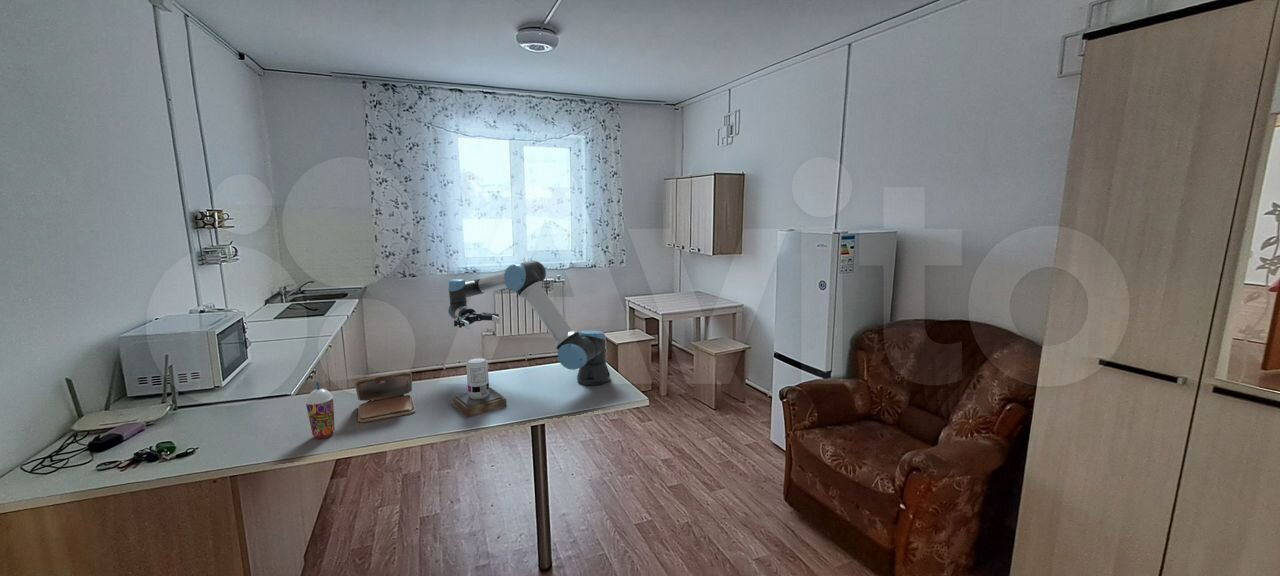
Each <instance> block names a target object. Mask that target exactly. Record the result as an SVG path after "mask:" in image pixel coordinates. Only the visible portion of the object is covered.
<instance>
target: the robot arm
mask: <svg viewBox="0 0 1280 576" xmlns="http://www.w3.org/2000/svg"><path fill="white" fill-rule="evenodd" d="M546 276H547V271H546V268H545V266H544V265H543V264H542V263H541V262H540V261H537V260H529V261H524V262H515V263H513V264H510V265H509V266H508V267H507V268H506V269H505V270H504V272H501V273H497V274H493V275H489V276H486V277H485V276H484V277H482V278H477V279H473V280H469V281H466V280H465V279H463V278H454V279H450V280H449V281H448V293H449V296H448V297H449V306H448V308H447V313H448V316H450V317H451V318H452V319H454V320H453V326H454V328H455V327H458V328H459V329H460V328H462V327H464V328H465V329H468V330H469V329H470V325H472V324H474V323H476V322H481V321H491V322H493V323H496V324H498V325H499V324H501V321H500V314H499V313H496V312H495V313H493V312H492V313H490V312H484V311H482V312H481V313H479V312H478V313H477V312H476V310H475V309H474V308H471V307H468V305H467V304H468V303H467V298H469V297H474V296H479V295H483V294H486V293H490V292H495V291H499V290H504V289H508V290H509V291H510V292H511V291H512V292H516V293H517V294H518V296H519V298H521V299H525V300H526V301H527V303H528V304H529V306H530V307H531V308H532V309H533V311H534V312H535V314H536V315H537V317H538V318H539V320H540V322H541V323H542V324H543V325H544V327H545V328H546V329H547V331H548V332H549V333H550V335H551V336H552V338H553V340H554V341H555V342H556V343H555V348H556V349H557V359H558V362H559V363H560V364H561V366H562V367H564V368H565V369H567V370H578V371H577V375H576V378H577V379H576V382H577V383H578V384H580V385H583V386H584V385H585V386H599V385H604V384H607V383H608V382H610V380H611V373H610V371H609V369H608V366H607V361H606V360H607V359H606V358H607V357H606V350H607V349H606V340H607V339H606V334H605V332H604V331H600V330H582V331H577V330H574V329H572V327H571V326H570V324H568V321H566V319H565V317H564V316H563V315H562V314H561V312H560V311H559V309H558V308H557V307H556V305H555V303H553V301H552V300H551V297H549V295H548V294H547V293H546V291H545V290H544V289H543V282H544V281H545V280H546Z"/></svg>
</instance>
